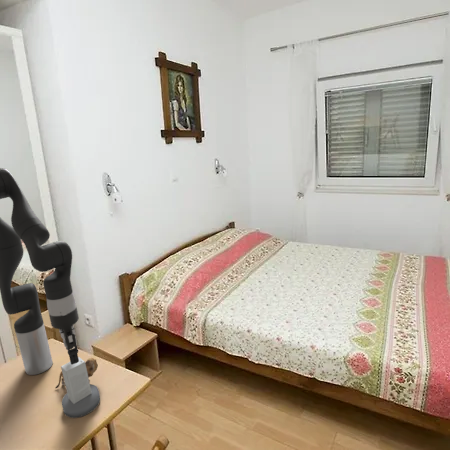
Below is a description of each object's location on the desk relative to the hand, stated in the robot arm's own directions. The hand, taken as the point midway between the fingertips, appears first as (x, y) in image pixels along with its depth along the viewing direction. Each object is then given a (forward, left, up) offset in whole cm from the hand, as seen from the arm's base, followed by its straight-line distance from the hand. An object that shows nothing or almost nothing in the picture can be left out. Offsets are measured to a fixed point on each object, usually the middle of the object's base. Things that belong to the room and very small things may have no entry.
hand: (72, 355), depth 106 cm
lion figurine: (-10, +1, -18) cm, 21 cm away
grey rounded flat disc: (0, 0, -18) cm, 18 cm away
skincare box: (0, 0, -15) cm, 15 cm away
